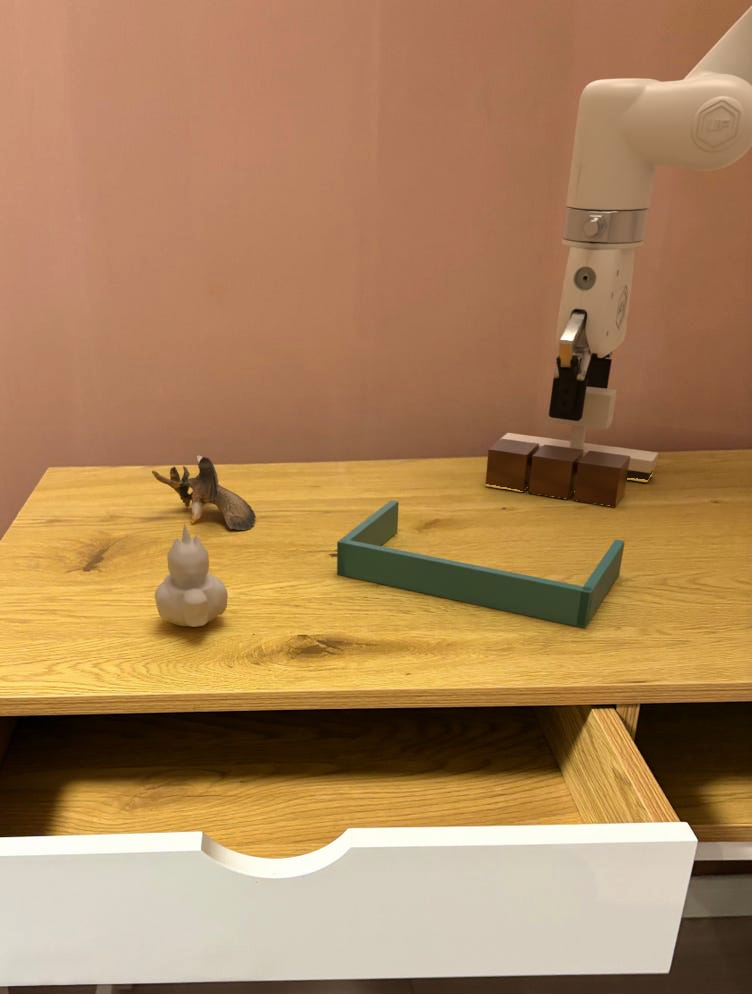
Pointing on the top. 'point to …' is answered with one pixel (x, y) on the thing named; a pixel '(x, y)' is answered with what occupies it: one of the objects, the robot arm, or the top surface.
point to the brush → (600, 417)
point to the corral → (471, 575)
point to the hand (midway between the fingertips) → (578, 406)
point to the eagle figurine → (209, 495)
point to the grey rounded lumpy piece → (190, 586)
